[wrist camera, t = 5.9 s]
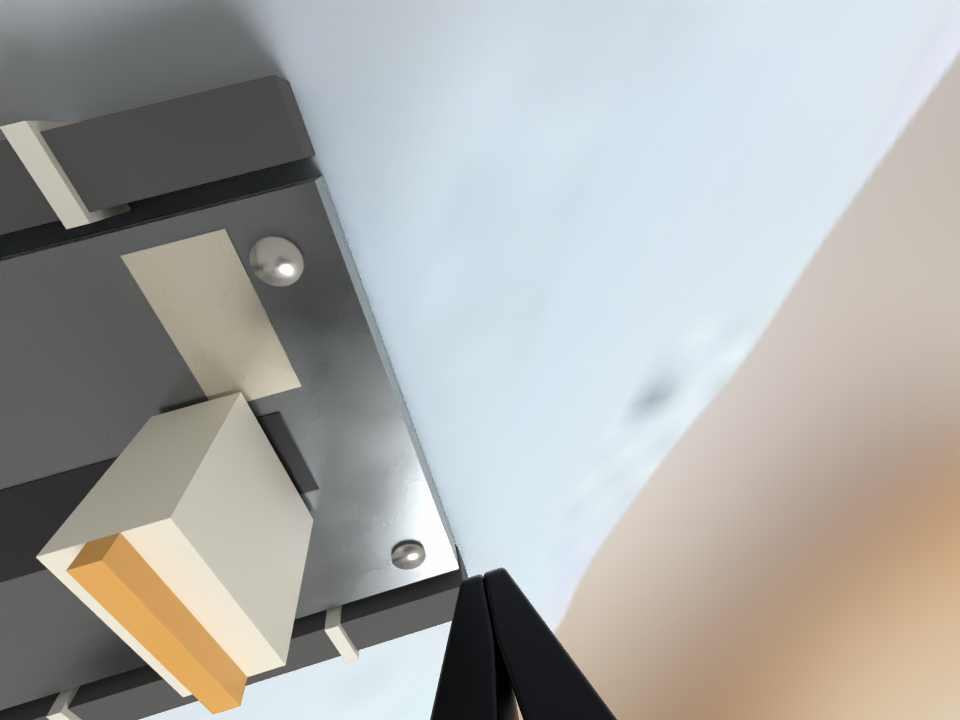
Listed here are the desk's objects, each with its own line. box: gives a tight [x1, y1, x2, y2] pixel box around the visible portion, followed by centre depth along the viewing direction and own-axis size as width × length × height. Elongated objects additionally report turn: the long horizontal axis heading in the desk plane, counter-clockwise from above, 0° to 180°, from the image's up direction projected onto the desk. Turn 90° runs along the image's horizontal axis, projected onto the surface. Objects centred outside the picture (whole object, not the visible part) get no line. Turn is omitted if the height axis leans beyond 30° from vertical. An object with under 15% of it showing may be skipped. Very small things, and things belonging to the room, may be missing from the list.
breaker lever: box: [36, 392, 313, 714], centre depth 11 cm, size 5×2×5 cm, turn 12°
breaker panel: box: [0, 175, 459, 710], centre depth 14 cm, size 14×20×2 cm
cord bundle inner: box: [0, 547, 468, 720], centre depth 18 cm, size 2×20×2 cm, turn 101°
